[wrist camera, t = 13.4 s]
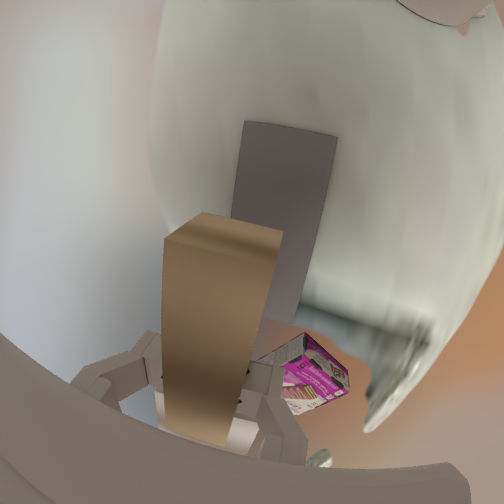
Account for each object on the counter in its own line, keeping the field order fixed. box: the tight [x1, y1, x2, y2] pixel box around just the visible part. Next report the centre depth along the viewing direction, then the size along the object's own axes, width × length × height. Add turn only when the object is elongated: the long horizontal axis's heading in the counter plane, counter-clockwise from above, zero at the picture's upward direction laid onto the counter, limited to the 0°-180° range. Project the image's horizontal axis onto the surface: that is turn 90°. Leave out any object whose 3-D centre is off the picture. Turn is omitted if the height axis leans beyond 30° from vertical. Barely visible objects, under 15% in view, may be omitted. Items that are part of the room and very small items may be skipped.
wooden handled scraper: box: [155, 212, 284, 456], centre depth 12 cm, size 17×6×3 cm, turn 169°
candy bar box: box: [255, 332, 350, 416], centre depth 39 cm, size 11×5×16 cm
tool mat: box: [231, 120, 338, 324], centre depth 32 cm, size 24×10×1 cm, turn 171°
